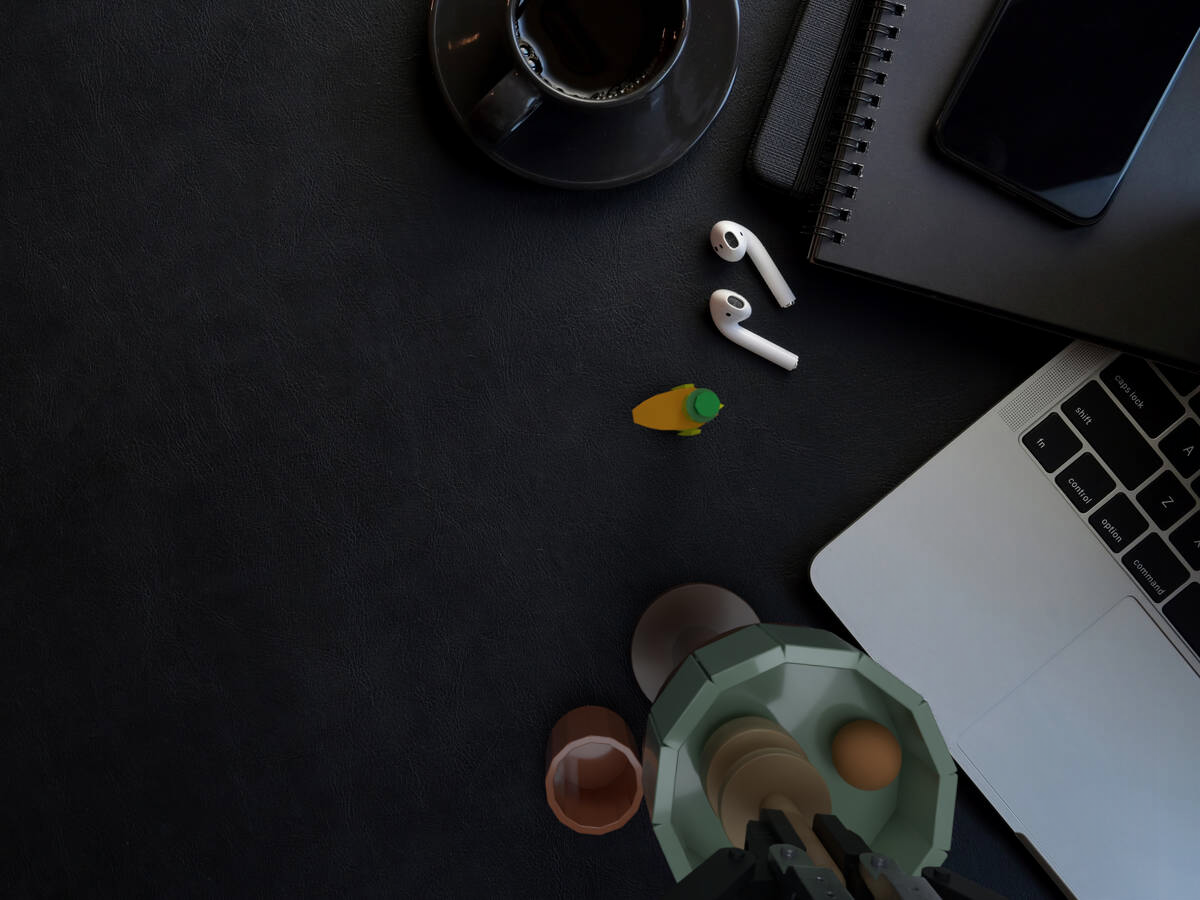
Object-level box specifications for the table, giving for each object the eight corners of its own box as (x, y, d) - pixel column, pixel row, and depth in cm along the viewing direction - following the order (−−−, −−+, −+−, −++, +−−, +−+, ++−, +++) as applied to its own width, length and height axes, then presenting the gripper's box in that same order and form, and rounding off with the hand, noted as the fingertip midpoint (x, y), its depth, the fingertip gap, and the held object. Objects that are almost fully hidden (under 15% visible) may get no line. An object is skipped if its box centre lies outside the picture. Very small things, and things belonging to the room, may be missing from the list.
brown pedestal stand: (772, 743, 69) (895, 906, 44) (603, 727, 68) (629, 882, 43) (790, 573, 69) (923, 639, 44) (621, 555, 68) (659, 612, 43)
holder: (630, 797, 68) (639, 838, 61) (541, 788, 68) (539, 829, 61) (639, 709, 68) (650, 741, 61) (551, 701, 68) (550, 731, 61)
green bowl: (895, 906, 44) (938, 964, 39) (629, 882, 43) (639, 938, 38) (923, 639, 44) (970, 663, 39) (659, 612, 43) (672, 632, 38)
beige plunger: (795, 824, 41) (893, 976, 29) (693, 814, 41) (749, 962, 29) (807, 721, 41) (910, 830, 29) (705, 710, 41) (766, 815, 29)
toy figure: (627, 444, 68) (642, 442, 56) (620, 396, 68) (633, 383, 56) (717, 431, 69) (751, 426, 57) (710, 383, 69) (743, 368, 57)
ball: (829, 752, 44) (858, 811, 42) (813, 727, 42) (843, 788, 40) (887, 724, 43) (919, 782, 41) (874, 697, 41) (907, 757, 39)
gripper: (636, 1426, 16) (595, 924, 33) (1391, 1477, 17) (966, 958, 34) (685, 990, 16) (618, 715, 34) (1433, 1057, 17) (988, 753, 34)
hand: (794, 838), depth 34 cm, fingers closed on beige plunger, 1 cm apart
